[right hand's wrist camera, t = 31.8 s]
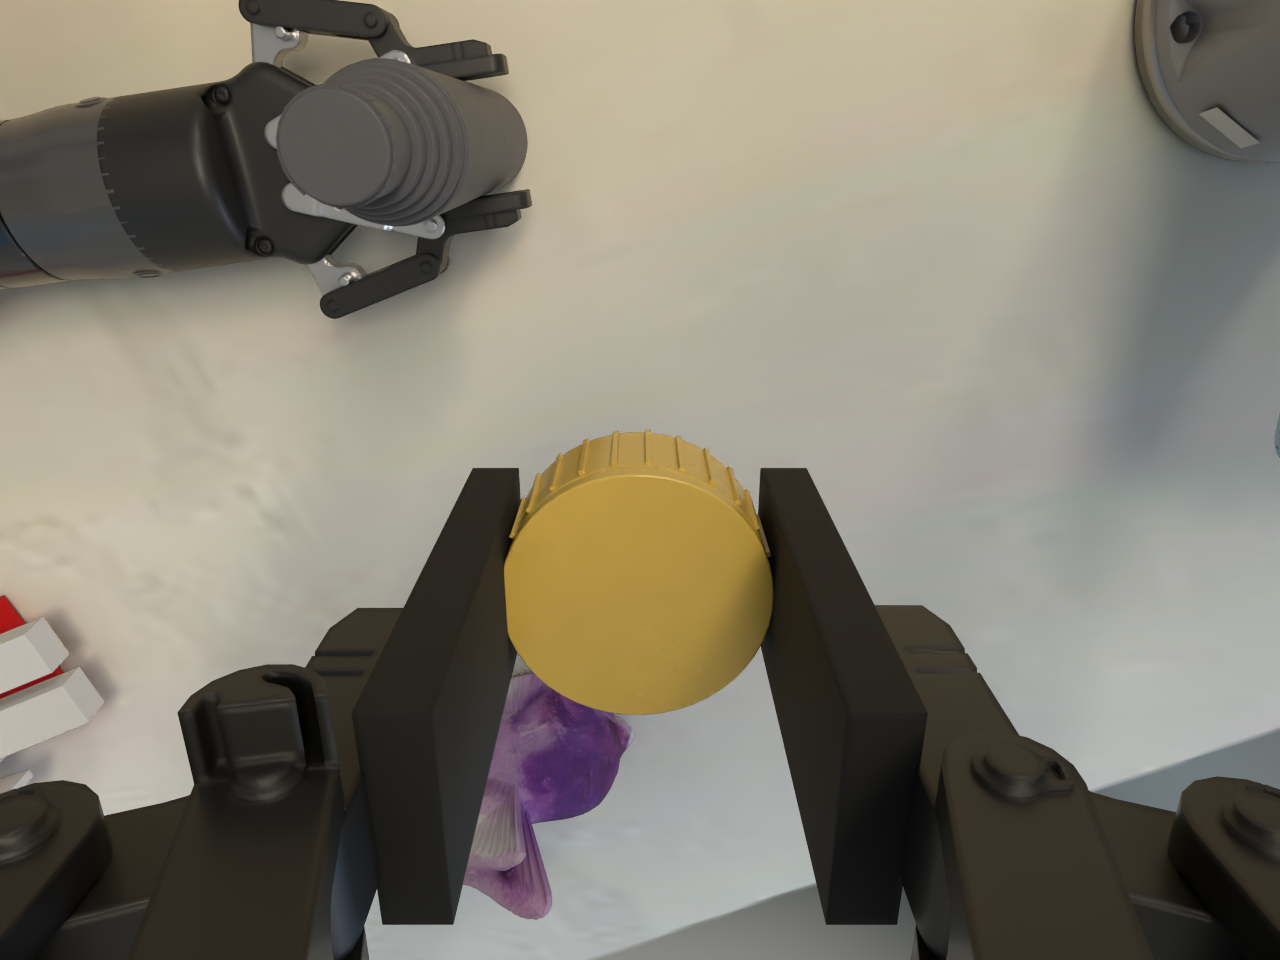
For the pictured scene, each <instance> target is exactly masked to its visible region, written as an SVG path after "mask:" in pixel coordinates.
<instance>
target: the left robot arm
mask: <svg viewBox="0 0 1280 960" xmlns="http://www.w3.org/2000/svg"><path fill="white" fill-rule="evenodd" d="M239 10H240V13H241V14H242V16H243V17H244V18H245V19H246V20H247V21H248V22H250V23H251V40H252V58H253V63H252V64H249V65H247V66H246V67H245V68H244V69H243V70H242V71H241V72H240V73H238V74H237V75H236V76H234V77H233V78H231V79H228V80H225V81H221V82H214V83H208V84H201V85H194V86H187V87H181V88H174V89H167V90H160V91H154V92H147V93H140V94H133V95H127V96H120V97H114V98H100V97H94V98H88V99H85V100H82V101H80V102H79V103H74V104H67V105H62V106H57V107H53V108H50V109H46V110H43V111H40V112H37V113H34V114H31V115H28V116H25V117H20V118H16V119H11V120H4V121H0V290H2V289H12V288H22V287H29V286H36V285H43V284H50V283H57V282H64V281H71V280H79V279H121V278H131V277H156V276H161V275H162V274H164V273H167V272H174V271H181V270H189V269H196V268H202V267H210V266H217V265H224V264H231V263H238V262H245V261H252V260H259V259H266V258H274V257H279V258H286V259H289V260H292V261H295V262H297V263H300V264H307V265H308V267H309V269H310V271H311V273H312V275H313V277H314V279H315V280H316V282H317V284H318V286H319V288H320V290H321V292H322V294H323V297H322V298H321V300H320V307H321V310H322V312H323V313H324V314H325V315H326V316H328V317H330V318H334V319H336V318H340V317H342V316H345V315H347V314H350V313H352V312H355V311H357V310H360V309H362V308H365V307H367V306H370V305H372V304H374V303H377V302H379V301H382V300H384V299H387V298H389V297H392V296H394V295H397V294H399V293H402V292H404V291H406V290H409V289H411V288H414V287H416V286H419V285H421V284H424V283H426V282H429V281H431V280H433V279H435V278H436V277H437V276H438V275H439V274H441V273H443V272H444V271H445V270H446V269H447V268H448V266H449V257H448V252H449V244H450V241H451V238H452V237H453V236H454V234H459V233H466V232H473V231H480V230H487V229H494V228H501V227H508V226H510V225H512V224H513V223H515V222H517V221H518V220H519V219H521V212H520V209H523V208H528V207H530V206H531V205H532V201H531V196H530V190H520V191H513V192H506V193H499V194H492V195H485V196H480V197H478V198H476V199H474V200H471V201H469V202H467V203H465V204H462V205H460V206H458V207H456V208H453V209H451V210H449V211H447V212H445V213H442V214H440V215H438V216H436V217H433V218H431V219H429V220H427V221H424V222H422V223H418V224H415V225H410V226H397V227H394V226H385V225H381V224H376V223H372V222H368V221H365V220H363V219H360V218H358V217H356V216H354V215H352V214H351V213H349V212H348V211H346V210H345V209H343V208H335V207H332V206H329V205H325V204H322V203H320V202H319V201H317V200H315V199H314V198H312V197H310V196H309V195H307V194H305V195H304V196H303V195H302V194H301V193H300V192H299V191H298V190H297V189H296V188H295V187H294V186H293V185H292V184H291V182H290V180H289V179H288V177H287V176H286V174H285V173H284V171H283V170H282V166H281V163H280V160H279V158H278V155H277V145H276V133H277V126H278V121H279V119H280V117H281V114H282V112H283V110H284V108H285V107H286V105H287V104H288V103H289V102H290V101H291V100H292V98H293V97H294V96H295V95H297V94H299V93H300V92H302V91H303V90H305V89H307V88H308V87H313V86H316V85H315V84H313V83H311V82H309V81H307V80H306V79H304V78H302V77H300V76H298V75H296V74H295V73H293V72H291V71H289V70H287V69H285V68H284V67H282V61H283V58H284V57H285V55H286V54H288V53H289V52H293V51H300V50H302V49H303V48H304V47H305V46H306V44H307V40H308V34H316V35H325V36H334V37H342V38H351V39H360V40H369V42H370V44H371V46H372V47H373V49H374V51H375V53H376V54H377V56H378V58H387V59H395V60H399V61H403V62H407V63H410V64H413V65H416V66H419V67H422V68H425V69H428V70H431V71H434V72H437V73H440V74H444V75H447V76H450V77H453V78H456V79H459V80H462V81H468V80H474V79H481V78H488V77H495V76H501V75H506V74H509V70H508V65H507V59H506V56H505V55H503V54H493V55H492V51H491V46H490V45H488V44H487V43H484V42H480V41H477V40H467V41H461V42H454V43H447V44H440V45H434V46H427V47H420V48H413V47H412V46H411V45H410V44H409V43H408V42H407V40H406V38H405V36H404V35H403V33H402V31H401V29H400V27H399V23H398V20H397V19H396V17H395V16H394V15H392V14H391V13H389V12H387V11H385V10H383V9H381V8H379V7H377V6H375V5H372V4H364V3H355V2H347V1H338V0H239ZM357 225H361V226H366V227H370V228H375V229H380V230H388V231H396V232H401V233H405V234H409V235H414V236H418V243H417V251H416V255H414V256H412V257H409V258H407V259H404V260H402V261H399V262H397V263H395V264H392V265H390V266H387V267H385V268H382V269H380V270H378V271H375V272H373V273H370V274H368V275H367V274H366V272H365V270H364V269H363V267H361V266H360V265H358V264H356V263H349V264H340V263H338V262H336V261H335V260H334V259H333V258H332V256H331V254H332V253H333V252H334V251H335V250H336V249H337V248H338V246H339V245H340V244H341V243H342V242H343V241H344V240H345V239H346V238H347V236H348V235H349V234H350V233H351V232H352V231H353V230H354V229H355V228H356V227H357Z"/></svg>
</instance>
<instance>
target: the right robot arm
mask: <svg viewBox="0 0 1280 960" xmlns="http://www.w3.org/2000/svg"><path fill="white" fill-rule="evenodd" d="M1135 47H1136V56H1137V61H1138V67H1139V71H1140V75H1141V78H1142V81H1143V84H1144V87H1145V89H1146V92H1147V94H1148V96H1149V99H1150V100H1151V102H1152V104H1153V106H1154V107H1155V109H1156V111H1157V112H1158V114H1159V115H1160V116H1161V118H1162V119H1163V120H1164V122H1165V123H1166V124H1167V125H1168V126H1169V127H1170V128H1171V129H1172V130H1173V131H1174V132H1175V133H1176V134H1177V135H1178V136H1180V137H1181V138H1182V139H1183V140H1185V141H1186V142H1188V143H1189V144H1191V145H1192V146H1194V147H1196V148H1198V149H1200V150H1202V151H1204V152H1206V153H1209V154H1212V155H1215V156H1218V157H1221V158H1226V159H1230V160H1237V161H1248V162H1280V0H1137V4H1136V14H1135ZM1275 448H1276V452H1277V454H1278V456H1279V457H1280V415H1279V419H1278V423H1277V427H1276V433H1275ZM520 502H521V500H520V482H519V468H473V469H472V471H471V473H470V475H469V477H468V479H467V481H466V483H465V485H464V487H463V489H462V491H461V493H460V495H459V497H458V499H457V501H456V503H455V505H454V507H453V509H452V511H451V513H450V515H449V518H448V520H447V522H446V524H445V526H444V528H443V530H442V532H441V534H440V536H439V538H438V540H437V542H436V544H435V546H434V548H433V550H432V552H431V554H430V556H429V558H428V560H427V562H426V564H425V566H424V568H423V570H422V572H421V574H420V576H419V578H418V580H417V582H416V584H415V586H414V588H413V590H412V592H411V594H410V596H409V598H408V600H407V602H406V604H405V606H404V608H357V609H356V610H354V611H353V612H352V613H350V614H349V615H347V616H346V617H345V618H343V619H342V620H341V621H339V622H338V623H336V624H335V625H334V626H332V627H331V628H330V629H329V630H328V632H327V634H326V635H325V637H324V638H323V640H322V642H321V643H320V645H319V646H318V648H317V650H316V651H315V656H312V658H311V659H310V661H309V662H308V664H307V666H306V667H305V668H304V667H300V666H296V665H263V666H258V667H253V668H248V669H243V670H239V671H236V672H234V673H231V674H229V675H226V676H224V677H221V678H219V679H216V680H214V681H212V682H210V683H209V684H207V685H206V686H205V687H203V688H202V689H200V690H199V691H197V692H196V693H194V694H193V695H191V696H190V697H189V699H188V700H187V701H186V702H185V704H184V705H183V706H182V708H181V709H180V710H179V711H178V716H179V721H180V725H181V729H182V733H183V738H184V742H185V746H186V750H187V755H188V759H189V763H190V767H191V772H192V776H193V780H194V787H193V789H192V792H191V795H189V796H186V797H182V798H179V799H175V800H172V801H168V802H165V803H161V804H156V805H151V806H147V807H142V808H138V809H133V810H129V811H124V812H120V813H115V814H110V815H106V816H104V814H103V811H102V807H101V804H100V800H99V797H98V795H97V794H96V793H95V792H93V791H92V790H91V789H90V788H89V787H88V786H87V785H85V784H80V783H74V782H69V781H64V780H62V781H52V782H42V783H33V784H30V785H27V786H23V787H20V788H17V789H16V788H15V789H12V790H10V791H7V792H4V793H1V794H0V960H369V955H368V948H367V941H366V935H365V929H364V924H365V921H366V918H367V916H368V913H369V910H370V907H371V904H372V901H373V898H374V895H375V893H376V890H378V897H379V904H380V911H381V918H382V924H383V925H453V924H454V919H455V915H456V911H457V907H458V902H459V898H460V894H461V890H462V885H463V881H464V877H465V872H466V868H467V864H468V860H469V855H470V851H471V847H472V843H473V838H474V834H475V830H476V826H477V821H478V817H479V813H480V809H481V804H482V800H483V796H484V792H485V787H486V783H487V779H488V775H489V770H490V766H491V762H492V758H493V753H494V749H495V745H496V741H497V736H498V732H499V728H500V724H501V719H502V715H503V711H504V707H505V702H506V698H507V694H508V689H509V685H510V681H511V677H512V672H513V668H514V664H515V660H516V655H517V651H516V649H515V648H514V646H513V644H512V642H511V640H510V638H509V636H508V628H507V612H506V597H505V581H504V563H505V560H506V556H507V553H508V550H509V547H510V544H511V541H512V538H510V537H509V536H510V533H511V530H512V527H513V523H514V520H515V517H516V514H517V511H518V508H519V505H520ZM758 515H759V517H760V521H761V524H762V527H763V530H764V534H765V537H766V540H767V543H768V546H769V550H770V553H771V557H768V560H769V563H770V568H771V572H772V577H773V587H774V599H773V611H772V616H771V620H770V624H769V627H768V630H767V633H766V635H765V638H764V640H763V642H762V644H761V649H762V654H763V658H764V662H765V666H766V671H767V675H768V679H769V683H770V688H771V692H772V696H773V700H774V705H775V709H776V713H777V717H778V722H779V726H780V730H781V734H782V739H783V743H784V747H785V751H786V756H787V760H788V764H789V768H790V773H791V777H792V781H793V785H794V790H795V794H796V798H797V803H798V807H799V811H800V815H801V820H802V824H803V828H804V832H805V837H806V841H807V845H808V849H809V854H810V858H811V862H812V866H813V871H814V875H815V879H816V883H817V888H818V892H819V896H820V900H821V904H822V909H823V913H824V917H825V922H826V925H897V920H898V914H899V907H900V900H901V893H902V886H903V887H904V890H905V893H906V896H907V899H908V901H909V904H910V907H911V910H912V913H913V916H914V919H915V921H916V929H915V935H914V941H913V948H912V954H911V960H1280V790H1279V789H1276V788H1273V787H1270V786H1268V785H1263V784H1261V783H1257V782H1253V781H1250V780H1246V779H1236V778H1226V777H1212V778H1207V779H1202V780H1197V781H1194V782H1193V783H1192V784H1191V785H1190V786H1188V787H1187V788H1186V789H1185V790H1184V791H1183V792H1182V794H1181V798H1180V801H1179V805H1178V808H1177V812H1172V811H1167V810H1163V809H1159V808H1154V807H1149V806H1145V805H1140V804H1135V803H1131V802H1126V801H1122V800H1117V799H1113V798H1110V797H1107V796H1103V795H1100V794H1096V793H1093V792H1090V791H1089V790H1088V788H1087V785H1086V783H1085V782H1084V780H1083V779H1082V777H1081V776H1080V774H1079V773H1078V771H1077V770H1076V768H1075V767H1074V765H1072V764H1071V763H1070V762H1069V761H1067V760H1066V759H1065V758H1063V757H1062V756H1061V755H1060V754H1058V753H1057V752H1056V751H1054V750H1053V749H1051V748H1049V747H1047V746H1045V745H1042V744H1040V743H1038V742H1036V741H1034V740H1031V739H1029V738H1027V737H1023V736H1019V734H1018V733H1017V731H1016V730H1015V728H1014V726H1013V725H1012V723H1011V722H1010V720H1009V718H1008V717H1007V715H1006V714H1005V712H1004V711H1003V709H1002V707H1001V706H1000V704H999V703H998V701H997V699H996V698H995V696H994V695H993V693H992V691H991V690H990V688H989V687H988V685H987V684H986V682H985V680H984V679H983V677H982V676H981V674H980V673H977V668H976V666H975V664H974V663H973V661H972V660H971V658H970V656H969V655H968V653H965V649H964V647H963V645H962V644H961V642H960V641H959V639H958V637H957V636H956V634H955V633H954V631H953V629H952V628H951V626H950V625H949V624H947V623H946V622H944V621H943V620H942V619H940V618H939V617H937V616H936V615H935V614H933V613H932V612H931V611H929V610H928V609H926V608H925V607H924V606H922V605H874V603H873V601H872V599H871V597H870V595H869V593H868V591H867V589H866V587H865V585H864V583H863V581H862V579H861V577H860V575H859V573H858V571H857V569H856V567H855V565H854V563H853V561H852V559H851V557H850V555H849V553H848V551H847V549H846V547H845V545H844V543H843V541H842V539H841V537H840V535H839V533H838V531H837V529H836V527H835V525H834V523H833V521H832V519H831V517H830V515H829V513H828V511H827V509H826V507H825V505H824V503H823V501H822V499H821V497H820V495H819V492H818V490H817V488H816V486H815V484H814V482H813V480H812V478H811V476H810V474H809V472H808V470H807V468H761V471H760V489H759V508H758Z"/></svg>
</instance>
